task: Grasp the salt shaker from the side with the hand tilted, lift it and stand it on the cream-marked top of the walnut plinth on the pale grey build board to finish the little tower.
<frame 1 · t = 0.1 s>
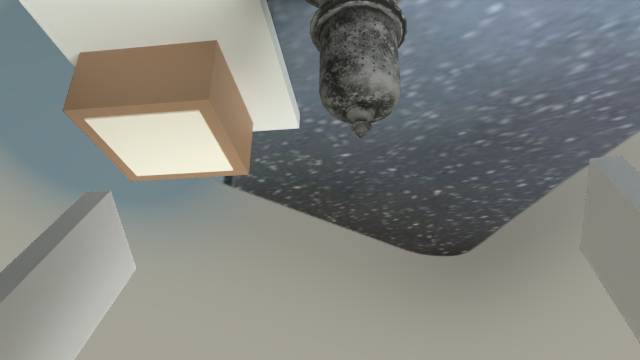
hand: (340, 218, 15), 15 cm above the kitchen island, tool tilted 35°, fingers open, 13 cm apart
build board: (167, 28, 29), on the kitchen island
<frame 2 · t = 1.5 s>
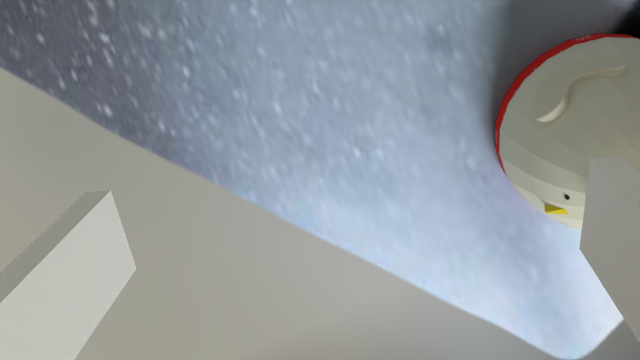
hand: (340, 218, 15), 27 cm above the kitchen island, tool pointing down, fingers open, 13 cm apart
kitchen timer: (587, 125, 40), on the kitchen island
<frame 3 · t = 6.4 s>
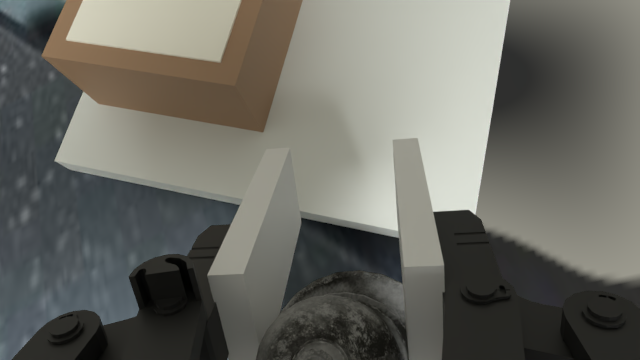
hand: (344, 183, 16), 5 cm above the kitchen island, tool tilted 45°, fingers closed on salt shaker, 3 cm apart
build board: (287, 84, 24), on the kitchen island
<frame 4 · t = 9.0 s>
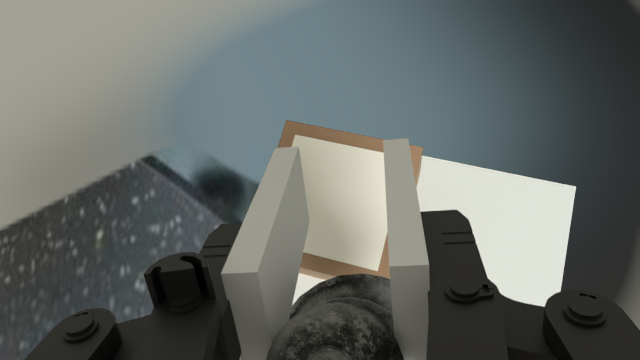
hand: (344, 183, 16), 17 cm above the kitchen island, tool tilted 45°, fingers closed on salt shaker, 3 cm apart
build board: (402, 251, 32), on the kitchen island
when the fingers open (12 cm above the kitchen island, at t = 11.1 s): salt shaker stays where it is, resting on build board.
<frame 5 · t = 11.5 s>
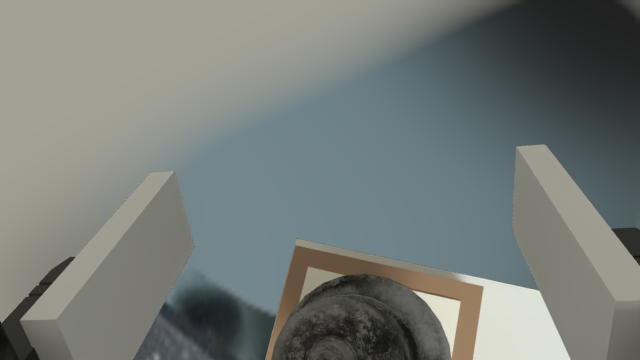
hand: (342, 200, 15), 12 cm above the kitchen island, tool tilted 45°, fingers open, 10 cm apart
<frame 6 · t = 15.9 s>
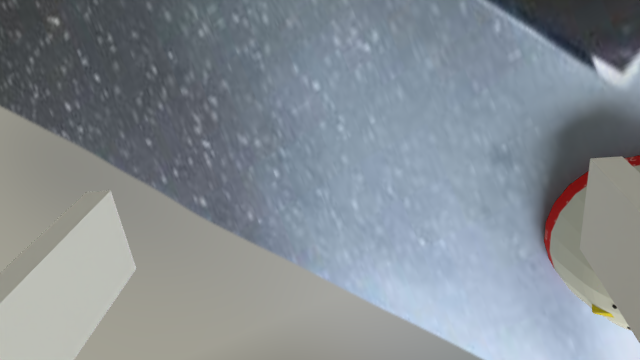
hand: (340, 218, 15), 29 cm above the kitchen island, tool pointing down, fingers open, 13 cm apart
kitchen timer: (625, 226, 46), on the kitchen island
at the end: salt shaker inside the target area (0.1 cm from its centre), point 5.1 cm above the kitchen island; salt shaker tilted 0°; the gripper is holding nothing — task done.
